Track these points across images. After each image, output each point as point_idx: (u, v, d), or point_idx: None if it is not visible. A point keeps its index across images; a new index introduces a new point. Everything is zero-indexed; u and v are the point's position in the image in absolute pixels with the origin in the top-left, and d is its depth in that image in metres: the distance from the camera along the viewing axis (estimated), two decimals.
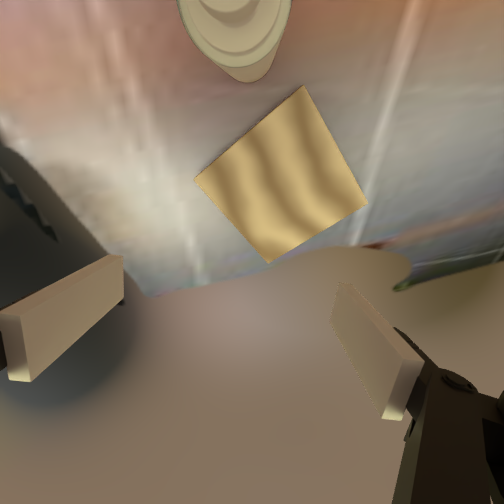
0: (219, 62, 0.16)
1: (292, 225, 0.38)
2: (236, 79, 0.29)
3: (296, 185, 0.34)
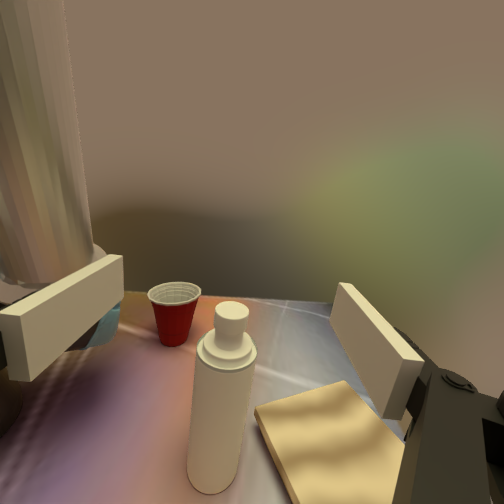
0: (251, 364, 0.25)
1: (381, 446, 0.33)
2: (233, 471, 0.30)
3: (334, 431, 0.35)
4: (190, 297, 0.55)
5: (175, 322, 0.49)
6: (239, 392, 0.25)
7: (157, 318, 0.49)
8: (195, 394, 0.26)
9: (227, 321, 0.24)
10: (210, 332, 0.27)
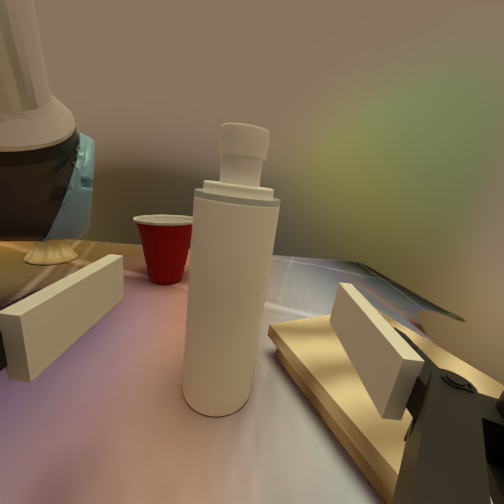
0: (273, 206, 0.17)
1: (435, 362, 0.26)
2: (246, 386, 0.22)
3: None
4: None
5: (167, 250, 0.41)
6: (258, 246, 0.17)
7: (145, 247, 0.41)
8: (193, 260, 0.18)
9: (240, 128, 0.16)
10: None
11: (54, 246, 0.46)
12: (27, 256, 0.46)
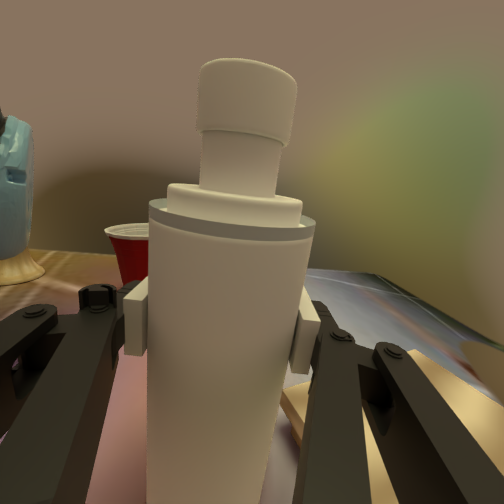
0: None
1: None
2: None
3: None
4: None
5: (147, 271, 0.32)
6: (274, 318, 0.08)
7: (120, 266, 0.33)
8: (149, 336, 0.10)
9: (238, 70, 0.07)
10: (190, 184, 0.11)
11: (12, 262, 0.38)
12: None
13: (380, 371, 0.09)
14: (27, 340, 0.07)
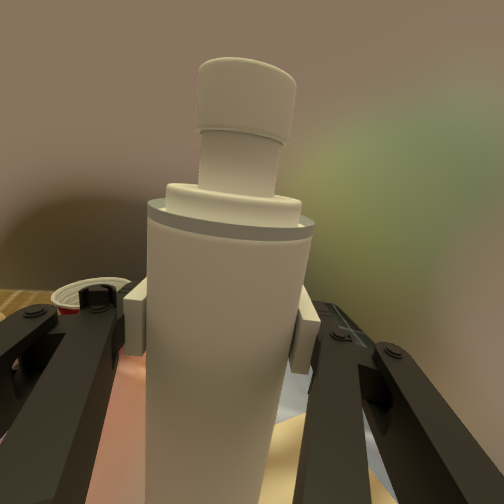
0: None
1: None
2: None
3: None
4: None
5: None
6: (273, 318, 0.08)
7: None
8: (148, 336, 0.10)
9: (237, 70, 0.07)
10: (189, 184, 0.11)
11: None
12: None
13: (380, 372, 0.09)
14: (27, 340, 0.07)
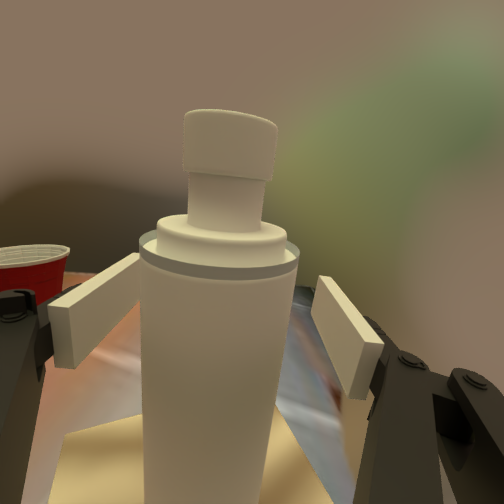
0: None
1: None
2: None
3: None
4: None
5: None
6: (260, 348, 0.09)
7: None
8: (143, 365, 0.10)
9: (218, 120, 0.08)
10: (180, 215, 0.11)
11: None
12: None
13: (463, 404, 0.08)
14: None
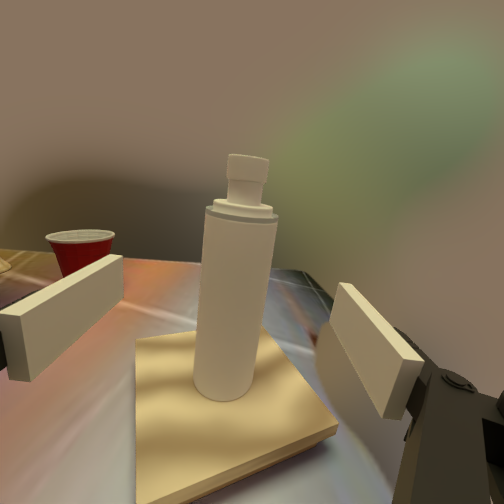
0: (272, 222, 0.21)
1: (271, 376, 0.28)
2: (249, 376, 0.25)
3: None
4: None
5: (77, 266, 0.44)
6: (259, 256, 0.21)
7: (59, 262, 0.44)
8: (204, 267, 0.22)
9: (244, 159, 0.19)
10: (221, 199, 0.23)
11: None
12: None
13: None
14: None
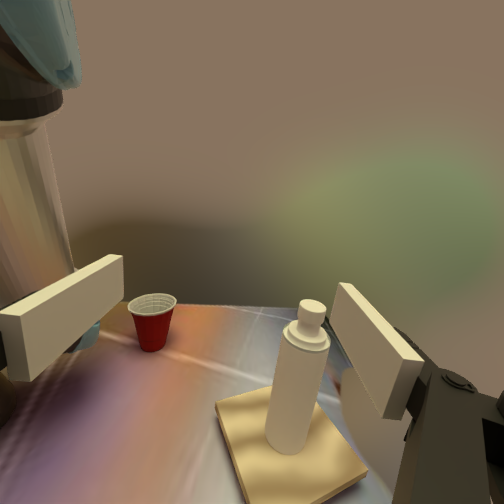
0: (328, 347, 0.33)
1: (317, 431, 0.40)
2: (306, 436, 0.37)
3: None
4: (167, 307, 0.62)
5: (152, 330, 0.55)
6: (320, 369, 0.33)
7: (136, 327, 0.56)
8: (283, 372, 0.34)
9: (313, 314, 0.31)
10: (291, 324, 0.35)
11: None
12: None
13: None
14: None
